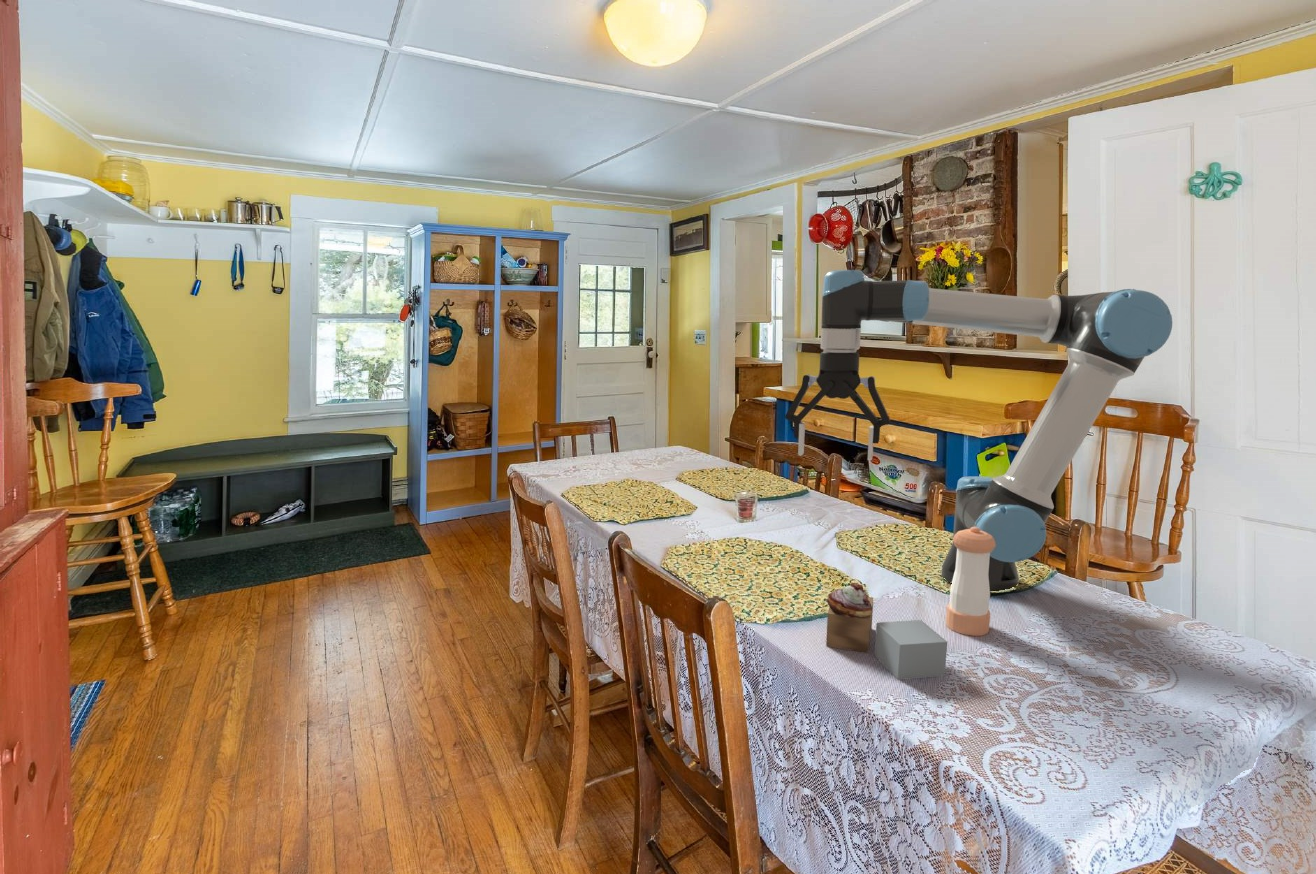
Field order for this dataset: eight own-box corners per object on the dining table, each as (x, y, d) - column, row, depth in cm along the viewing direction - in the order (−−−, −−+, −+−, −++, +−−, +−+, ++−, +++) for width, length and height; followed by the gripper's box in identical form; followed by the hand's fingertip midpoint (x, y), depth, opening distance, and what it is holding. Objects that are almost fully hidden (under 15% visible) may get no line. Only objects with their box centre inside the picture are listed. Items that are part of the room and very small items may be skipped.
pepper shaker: (948, 615, 131) (956, 519, 127) (990, 623, 127) (999, 525, 124) (943, 630, 124) (950, 529, 121) (987, 639, 121) (996, 535, 118)
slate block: (918, 652, 116) (921, 619, 115) (944, 676, 108) (947, 641, 107) (874, 655, 115) (876, 622, 114) (897, 680, 107) (899, 644, 106)
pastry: (880, 617, 116) (881, 589, 115) (838, 620, 114) (840, 592, 113) (858, 599, 123) (860, 572, 123) (819, 601, 122) (820, 575, 121)
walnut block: (871, 628, 125) (873, 597, 124) (868, 652, 116) (869, 619, 115) (832, 622, 127) (834, 592, 126) (826, 645, 118) (827, 613, 117)
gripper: (907, 351, 133) (900, 457, 137) (780, 349, 142) (776, 449, 145) (906, 352, 126) (899, 464, 130) (773, 350, 135) (769, 455, 138)
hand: (834, 457), depth 137 cm, fingers open, 13 cm apart
